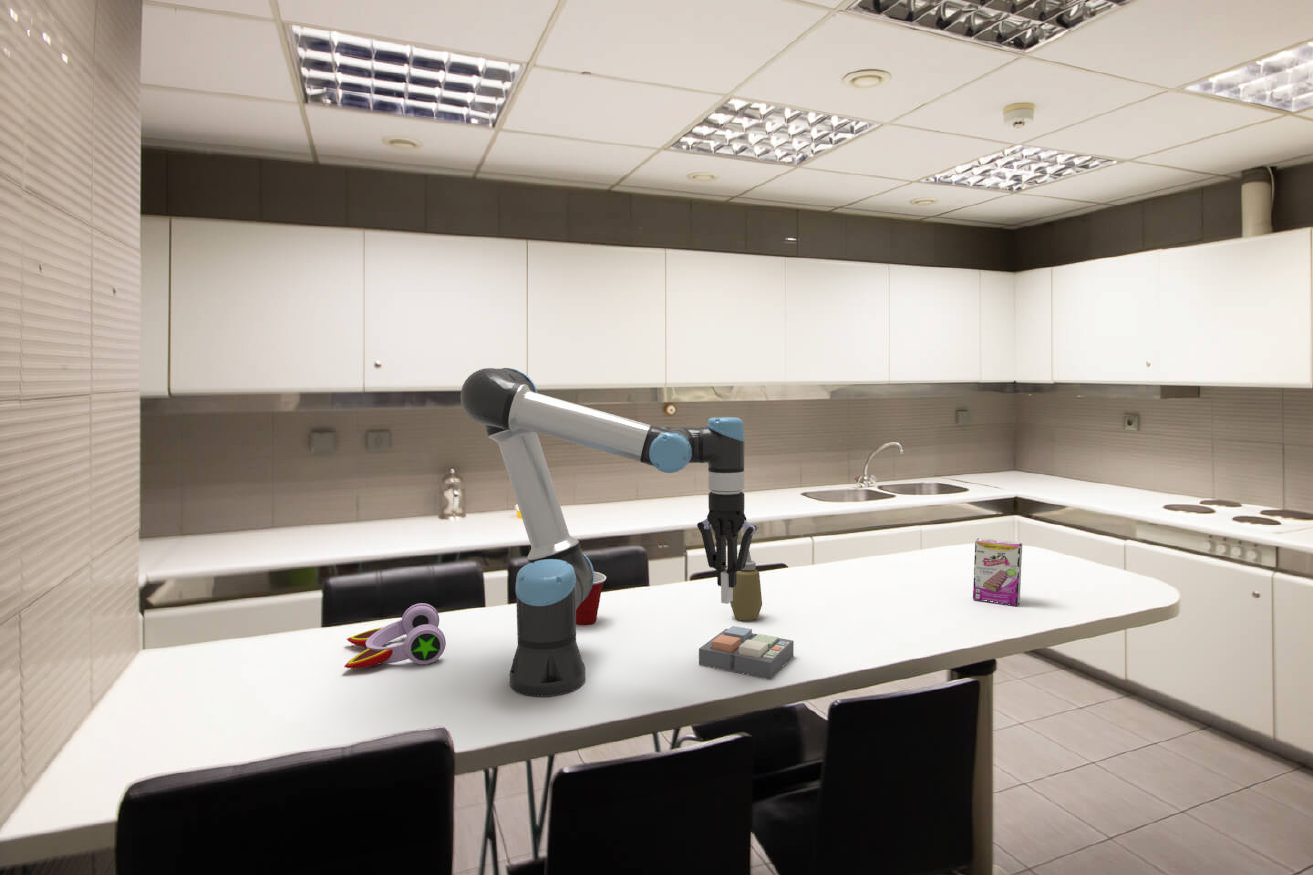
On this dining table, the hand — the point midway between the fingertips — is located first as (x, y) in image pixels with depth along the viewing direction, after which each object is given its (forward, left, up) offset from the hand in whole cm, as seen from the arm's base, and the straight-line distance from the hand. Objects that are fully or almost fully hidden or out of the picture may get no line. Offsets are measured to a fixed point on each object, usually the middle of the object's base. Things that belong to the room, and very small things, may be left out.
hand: (726, 601), depth 155 cm
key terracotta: (0, 0, -11) cm, 11 cm away
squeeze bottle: (+29, +8, -14) cm, 33 cm away
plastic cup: (+7, +42, -14) cm, 44 cm away
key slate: (+6, 0, -11) cm, 13 cm away
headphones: (-30, +67, -14) cm, 75 cm away
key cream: (0, -6, -11) cm, 13 cm away
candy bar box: (+73, -46, -14) cm, 88 cm away
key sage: (+6, -6, -12) cm, 15 cm away
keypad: (+3, -3, -13) cm, 14 cm away
